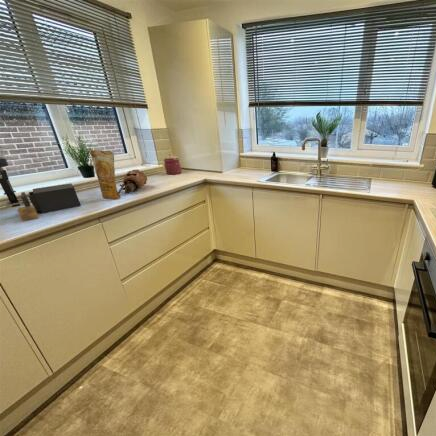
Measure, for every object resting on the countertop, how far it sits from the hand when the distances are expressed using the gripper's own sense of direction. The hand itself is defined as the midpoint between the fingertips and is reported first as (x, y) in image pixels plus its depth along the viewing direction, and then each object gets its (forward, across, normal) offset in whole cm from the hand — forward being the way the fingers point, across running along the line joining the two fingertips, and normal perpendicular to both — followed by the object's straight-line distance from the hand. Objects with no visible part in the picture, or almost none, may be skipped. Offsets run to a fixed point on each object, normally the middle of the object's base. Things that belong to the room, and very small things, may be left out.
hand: (16, 205), depth 121 cm
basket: (+4, 0, -7) cm, 8 cm away
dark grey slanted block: (+5, 0, -16) cm, 16 cm away
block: (+5, -12, -4) cm, 14 cm away
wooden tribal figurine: (+5, +8, -53) cm, 54 cm away
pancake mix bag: (+5, 0, -40) cm, 40 cm away
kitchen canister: (+5, +45, -95) cm, 106 cm away
